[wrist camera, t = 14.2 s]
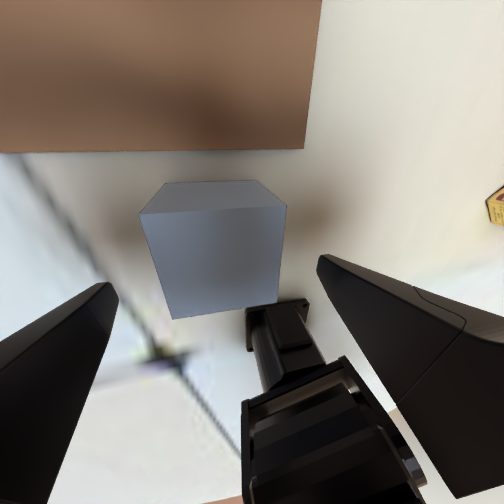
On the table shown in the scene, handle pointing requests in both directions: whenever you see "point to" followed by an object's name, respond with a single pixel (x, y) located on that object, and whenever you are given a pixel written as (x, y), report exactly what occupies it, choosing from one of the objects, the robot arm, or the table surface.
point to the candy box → (497, 207)
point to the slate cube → (215, 245)
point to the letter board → (155, 74)
